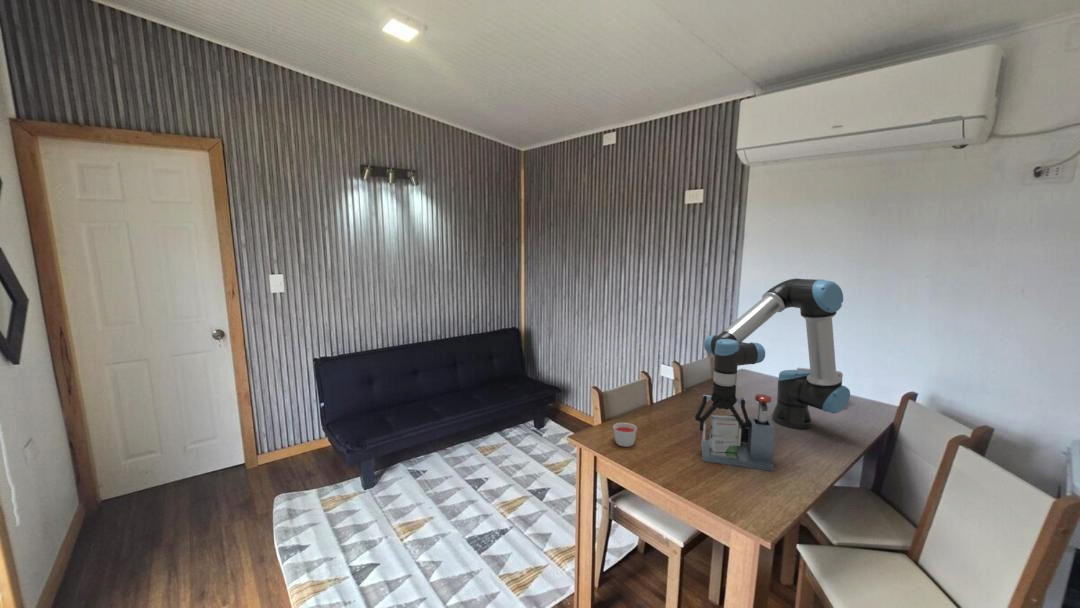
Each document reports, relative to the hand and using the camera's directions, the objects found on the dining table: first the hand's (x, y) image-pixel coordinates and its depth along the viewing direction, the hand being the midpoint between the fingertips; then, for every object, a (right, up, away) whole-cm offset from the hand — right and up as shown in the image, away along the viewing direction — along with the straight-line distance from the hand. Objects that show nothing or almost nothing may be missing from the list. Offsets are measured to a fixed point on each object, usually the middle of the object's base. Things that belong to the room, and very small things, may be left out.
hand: (720, 441), depth 152 cm
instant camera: (+73, +3, +59) cm, 94 cm away
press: (+5, -5, -1) cm, 7 cm away
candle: (-33, -4, +11) cm, 35 cm away
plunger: (+12, +3, -5) cm, 13 cm away
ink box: (+1, -3, 0) cm, 3 cm away
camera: (+11, -3, +14) cm, 18 cm away
